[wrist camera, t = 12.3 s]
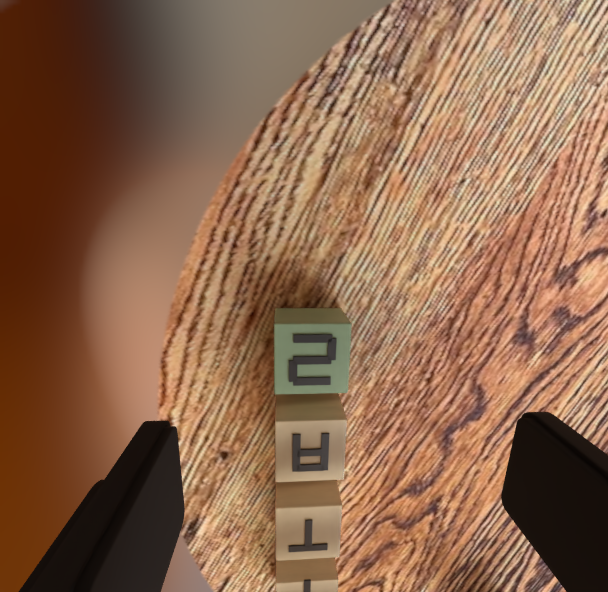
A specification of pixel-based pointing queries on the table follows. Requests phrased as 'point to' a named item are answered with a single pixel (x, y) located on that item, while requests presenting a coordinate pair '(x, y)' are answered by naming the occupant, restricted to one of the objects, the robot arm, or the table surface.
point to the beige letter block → (307, 575)
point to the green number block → (311, 350)
